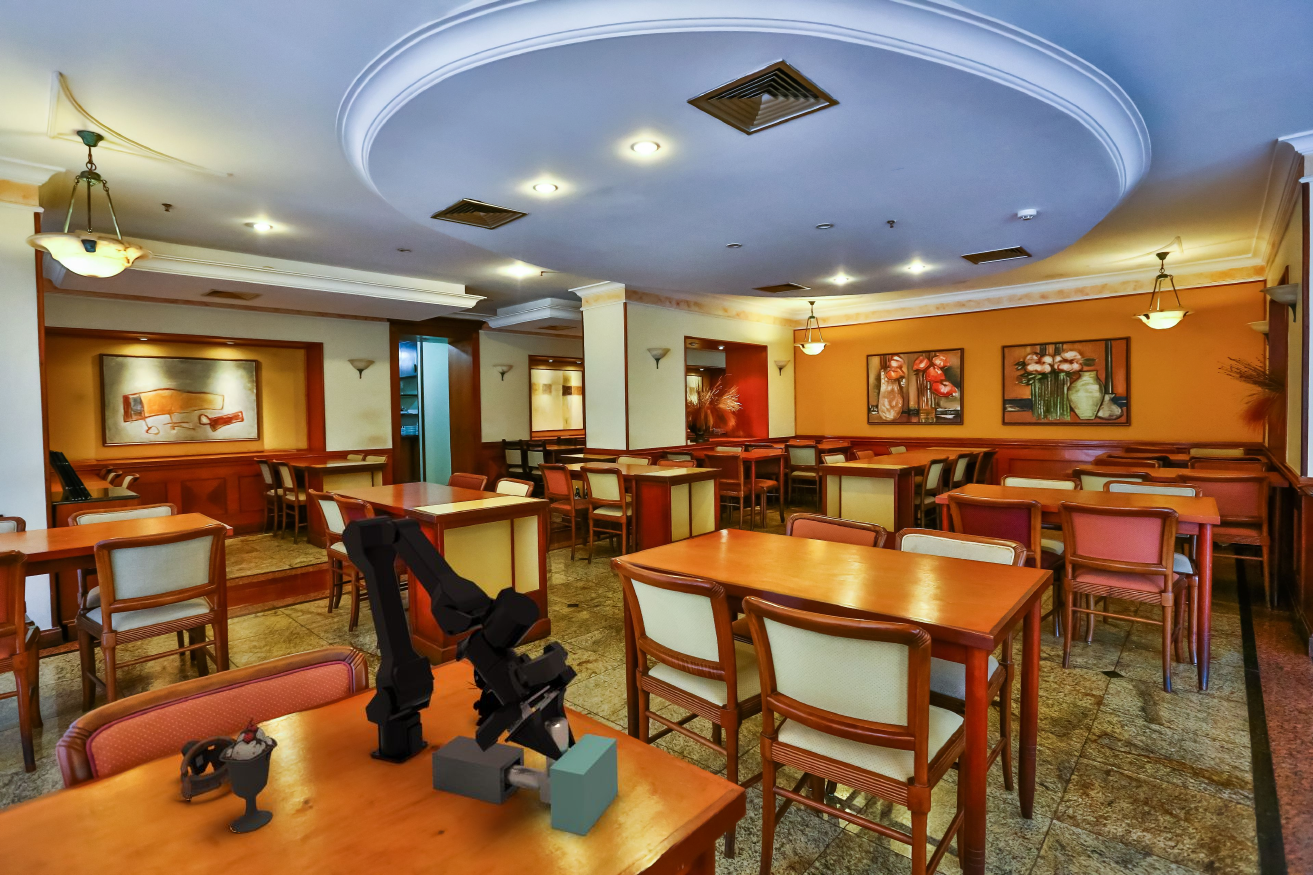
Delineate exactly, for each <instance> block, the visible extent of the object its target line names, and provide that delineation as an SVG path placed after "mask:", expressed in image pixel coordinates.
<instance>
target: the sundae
mask: <svg viewBox="0 0 1313 875" xmlns="http://www.w3.org/2000/svg"><path fill="white" fill-rule="evenodd" d="M253 721H254V717H252V716H251V717H250V720H249V722H248V723H247V726H246V727H245V728H244V729H242V731H241V732H240V733H239V734H238V735H237V737H236V742H235V743H234V744H233V745H231V746H229V747H227V748H226V749H225V750H224V751H223V752H222V753H221V755H220V757H219V760H220V761H224V762H226V765H227V768H228V771H229V776H230V780H229V781H230V786H231V789H232V793H233V794H234V795H235V796H237V797H238V798H240V799H243V800H244V801H245V812H244V814H243V815H241V816H239V817H237V818H238V819H237V818H236V819H234V821H233V822H231V823H230V826H231V828H232V830H233V831H236V832H240V833H239V834H242V833H241V832H246V833H250V832H253V830H254V831H257V830H258V829H261V828H263V827H264V826H266V825H267V824H268V823H269V822H270V821H271V819H273V816H274V815H273V813H272V812H271V811H270V810H266V809H260V810H259V809H258V806H257V796H258V795H259V794H260V793H261V792H262V791H263V790H264V789H265V787H266V786H267V784H268V779H269V774H270V764H271V758H272V752H273V751H274V749H275V748H277V747H278V742H277V740H276V739H275V738H273V737H271V736H269V735H266V733H265V731H264V730H263V728H261V727H259V726H258V724H256V723H253V724H252V722H253ZM260 827H261V828H260ZM249 831H250V832H249Z"/></svg>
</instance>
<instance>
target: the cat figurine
mask: <svg viewBox="0 0 1313 875" xmlns="http://www.w3.org/2000/svg"><path fill="white" fill-rule="evenodd" d="M473 680H474V681H473V682H474V683H471V682H470V681H468V680H467V681H466V682H467V683H468V684H470V685H471V686H472V685H473V686H475V687H470V688H469V687H468V688H467V689H468V690H478V689H479V690H480V691H481V694H480V698H479V699H477V700H476V701H475V702H473V704H472V705H473V706H472V708H473V710H474V711H475V712H477V714H478V716H479V718H478V720H477V722H476V726H477V727H480V726H481V725H482V724H483V723H484V722H485V721H486V720H487V719H488V718H489V717H490V716H491V715H492V714H493V712H495V711H496V710H498V709H499V708H500V707H502V706H503V704H502V703H501V702H500V700H499V699H498V698H497V696H496V695H495V694H494V692H493V691H490V692H489V693H487V694H486V693H485V692H484V690H483V689H482V688H483V687H484V686H485V685H486V684H487V683H486V682H485V681H484V679H483V678H482V676H481V675H480V674H479V673H478V671H477V670H476V669H475V667H474V666H473Z"/></svg>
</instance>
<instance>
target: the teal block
mask: <svg viewBox="0 0 1313 875" xmlns="http://www.w3.org/2000/svg"><path fill="white" fill-rule="evenodd" d="M617 744H618V739H617V738H612V737H607V736H602V735H601V736H600V735H597V734H595V735H594V734H589V733H585V734H584V735H583V736H581V738H580V739H579V740H577V741H576V744H574V745H573V746H572V747H571V748H569V750H568V751H567V752H566V753H565V754H564V755H563V756H562V757H561V758H560V759H559V760H558V761H557V762H556V763H554V764H553V765H552V766H551V767H550V793H551V804H550V821H551V822H550V823H551V824H550V825H551V826H550V827H551V828H552V829H555V830H559V831H564V832H568V833H572V834H575V835H579V836H583V837H585V836H587V834H588V833H589V831H590V830H591V828H593V826H594V825H596V822H597V821H598V820H599V819H600V817H601V816H602V815H603V814H604V813H605V811H606V810H607V808H608V807H609V806H610V805H611V804H612V802H613V801H615V799H616V797H617V796H618V795H619V783H618V782H619V776H618V775H619V774H618V745H617Z"/></svg>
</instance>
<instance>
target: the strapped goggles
mask: <svg viewBox="0 0 1313 875" xmlns="http://www.w3.org/2000/svg"><path fill="white" fill-rule="evenodd" d="M236 740H237V738H236V739H235V738H233V737H231V736H228V735H223V734H222V735H214V736H211V737H207V738H205V739H202V741H200V740H196V739H195V740H194V739H193V740H188V741H187V742H186V743H185V744H184V745H183V746H182V748H181V749H180V752H181V754H182V755H181V756H182V757H183V759H182V761H181V764H180V768H179V770H180V776H179V777H180V782H181V783H182V786H181V792H180V794H181V797H182V798H183V799H184V798H185V799H189V800H190V799H191V800H192V798H194V797H198V796H201V795H204V794H206V793H209V792H213V791H215V790H218V789H219V788H221V787H222V784H223V785H224V784H227V783H228V782H229V781H230V776H229V771H228V768H227V765H226V762H224V761H220V760H219V757H220V755H221V753H222V752H223V751H224V750H225V749H226V748H227V747H229V746H231V745H233V744H234V743H235V742H236ZM210 747H213V748H210ZM209 748H210V749H209ZM209 764H211V766H212V769H213V772H210V773H207V774H204V773H205V772H206V770H207V768H208V766H209ZM189 769H190V773H191V774H190V775H189ZM202 774H203V775H202ZM185 799H184V800H185Z"/></svg>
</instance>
